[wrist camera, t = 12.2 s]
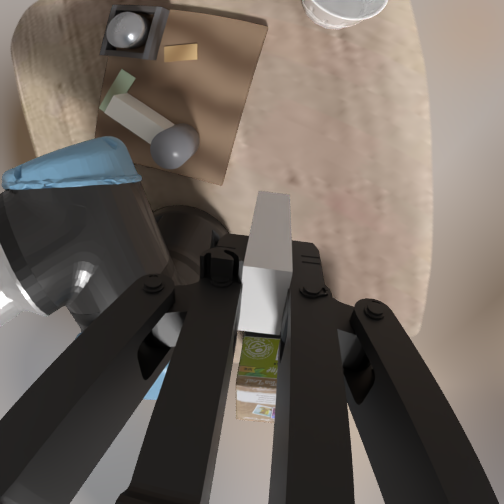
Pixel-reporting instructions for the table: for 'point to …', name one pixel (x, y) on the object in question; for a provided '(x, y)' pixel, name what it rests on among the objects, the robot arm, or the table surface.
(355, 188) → the table surface
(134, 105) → the peg lever
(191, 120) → the board
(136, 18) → the button
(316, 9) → the white cup
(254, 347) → the tea box
